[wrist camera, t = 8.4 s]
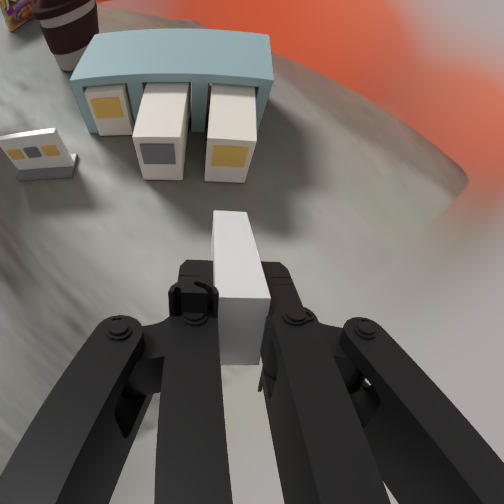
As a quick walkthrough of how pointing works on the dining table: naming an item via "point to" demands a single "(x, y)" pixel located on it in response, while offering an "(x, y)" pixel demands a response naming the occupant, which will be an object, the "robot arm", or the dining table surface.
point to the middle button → (163, 130)
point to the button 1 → (111, 109)
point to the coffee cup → (67, 28)
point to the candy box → (17, 12)
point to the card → (39, 154)
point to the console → (175, 65)
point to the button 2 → (230, 132)
